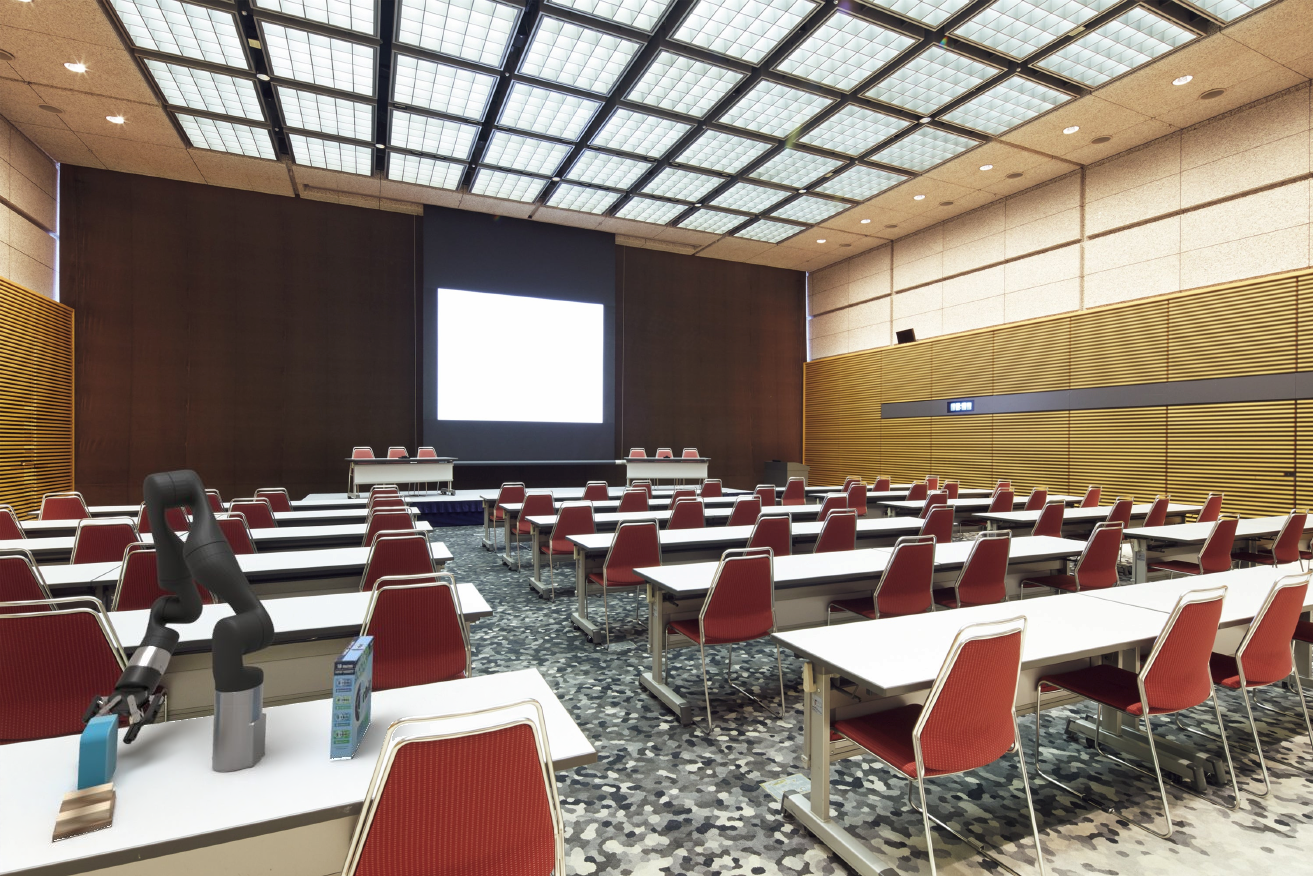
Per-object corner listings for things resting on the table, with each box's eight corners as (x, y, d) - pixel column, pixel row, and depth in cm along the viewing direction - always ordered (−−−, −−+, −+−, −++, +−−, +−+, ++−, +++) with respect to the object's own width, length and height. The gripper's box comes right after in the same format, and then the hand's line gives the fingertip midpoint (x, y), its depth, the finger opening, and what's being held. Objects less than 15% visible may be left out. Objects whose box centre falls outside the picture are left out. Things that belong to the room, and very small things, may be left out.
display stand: (115, 796, 128) (116, 780, 128) (111, 826, 117) (112, 809, 117) (61, 809, 123) (62, 792, 123) (52, 842, 112) (52, 824, 112)
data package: (89, 771, 137) (92, 715, 137) (116, 766, 139) (119, 711, 140) (76, 797, 127) (79, 737, 127) (106, 791, 129) (108, 732, 130)
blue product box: (350, 725, 162) (353, 636, 163) (372, 724, 163) (374, 635, 164) (329, 762, 143) (332, 660, 144) (353, 760, 144) (356, 659, 145)
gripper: (102, 664, 145) (59, 738, 133) (171, 663, 147) (134, 735, 135) (118, 679, 150) (78, 751, 138) (183, 678, 152) (149, 749, 140)
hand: (106, 743), depth 136 cm, fingers open, 7 cm apart
